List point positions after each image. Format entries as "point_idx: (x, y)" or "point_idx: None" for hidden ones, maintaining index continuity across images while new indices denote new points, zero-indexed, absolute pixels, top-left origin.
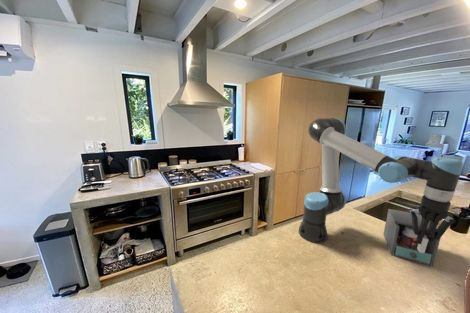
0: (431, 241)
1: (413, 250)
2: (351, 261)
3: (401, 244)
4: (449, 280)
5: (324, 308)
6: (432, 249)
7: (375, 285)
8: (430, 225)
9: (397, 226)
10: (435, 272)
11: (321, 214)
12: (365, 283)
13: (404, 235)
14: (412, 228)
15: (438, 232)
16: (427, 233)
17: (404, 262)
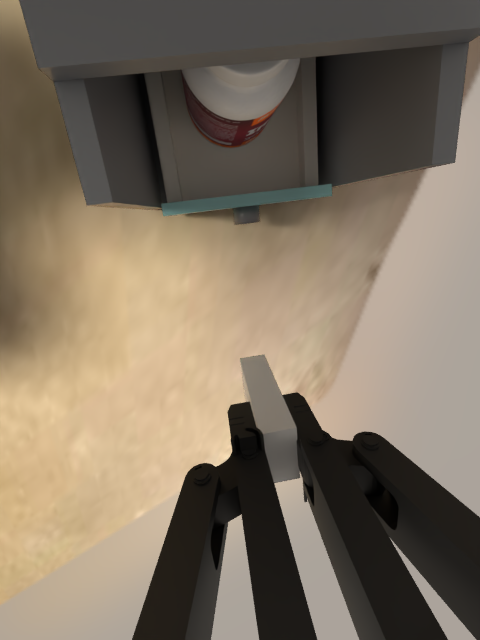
0: (371, 102)
1: (246, 204)
2: (9, 384)
3: (195, 121)
4: (354, 264)
5: (19, 592)
6: (350, 162)
7: (114, 452)
8: (362, 612)
9: (93, 184)
10: (320, 239)
11: None
12: (85, 463)
13: (196, 101)
14: (179, 496)
15: (404, 547)
16: (309, 467)
17: (209, 242)
